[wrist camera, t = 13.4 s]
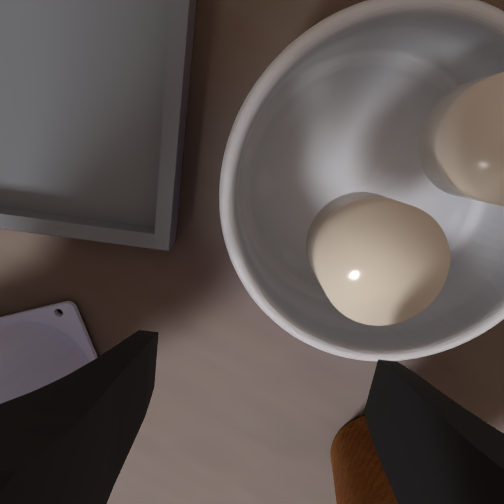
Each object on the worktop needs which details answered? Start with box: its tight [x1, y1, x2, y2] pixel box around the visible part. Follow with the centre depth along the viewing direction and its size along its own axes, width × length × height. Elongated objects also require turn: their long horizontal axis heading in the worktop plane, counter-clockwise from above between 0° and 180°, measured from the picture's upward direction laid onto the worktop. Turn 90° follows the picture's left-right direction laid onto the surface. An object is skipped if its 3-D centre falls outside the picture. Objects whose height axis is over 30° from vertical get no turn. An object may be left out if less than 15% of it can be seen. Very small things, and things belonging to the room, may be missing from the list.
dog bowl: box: [219, 0, 504, 361], centre depth 18 cm, size 15×15×6 cm
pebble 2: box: [419, 72, 504, 206], centre depth 13 cm, size 4×4×3 cm
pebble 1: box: [306, 192, 450, 326], centre depth 14 cm, size 4×4×3 cm
